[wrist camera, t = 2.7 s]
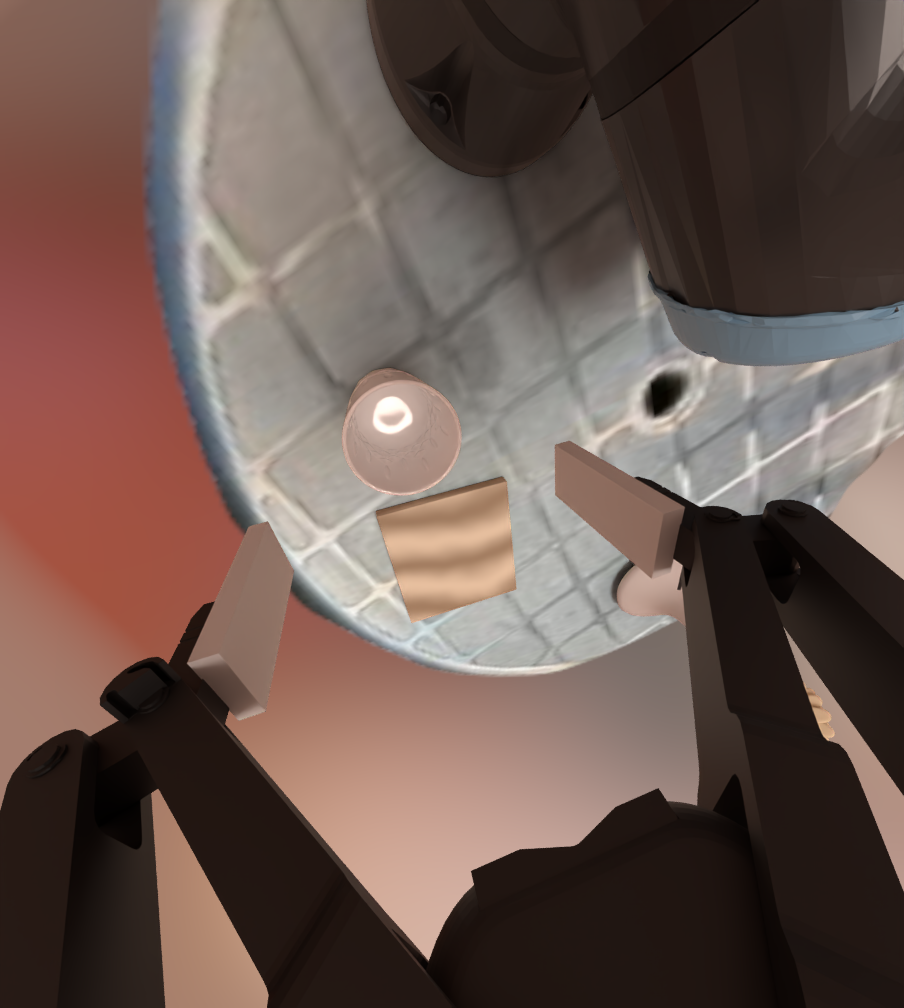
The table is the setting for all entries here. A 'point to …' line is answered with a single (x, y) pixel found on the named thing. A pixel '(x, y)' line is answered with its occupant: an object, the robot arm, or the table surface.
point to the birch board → (451, 548)
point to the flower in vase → (681, 614)
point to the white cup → (399, 433)
